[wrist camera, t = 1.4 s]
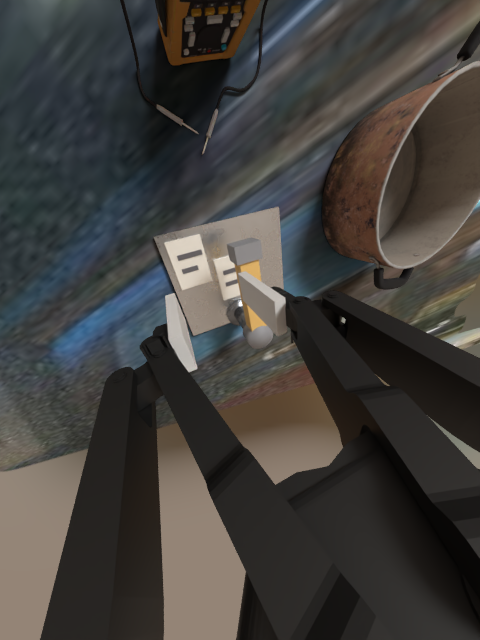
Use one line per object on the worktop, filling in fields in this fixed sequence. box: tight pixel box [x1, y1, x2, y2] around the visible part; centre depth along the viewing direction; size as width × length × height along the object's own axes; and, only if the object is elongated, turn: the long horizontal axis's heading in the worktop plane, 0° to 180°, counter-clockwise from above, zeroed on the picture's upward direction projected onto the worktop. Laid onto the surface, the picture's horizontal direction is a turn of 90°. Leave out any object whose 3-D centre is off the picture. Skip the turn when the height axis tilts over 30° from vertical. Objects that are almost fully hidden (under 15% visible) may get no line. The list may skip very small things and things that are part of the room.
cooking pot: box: [322, 21, 480, 290], centre depth 30 cm, size 30×22×11 cm
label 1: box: [164, 234, 213, 290], centre depth 28 cm, size 5×7×1 cm
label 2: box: [213, 256, 240, 300], centre depth 31 cm, size 5×7×1 cm
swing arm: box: [227, 238, 273, 349], centre depth 26 cm, size 16×4×3 cm, turn 11°
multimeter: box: [120, 0, 268, 155], centre depth 13 cm, size 15×10×20 cm
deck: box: [154, 207, 284, 336], centre depth 30 cm, size 19×18×7 cm
